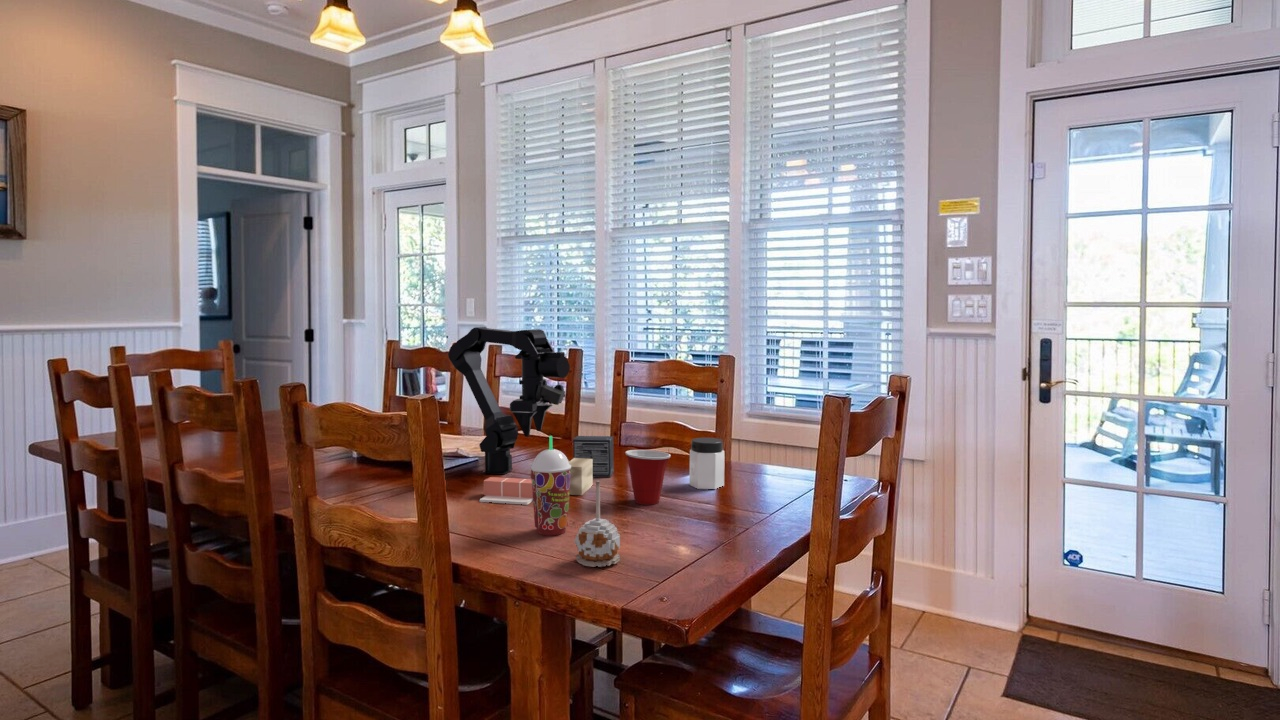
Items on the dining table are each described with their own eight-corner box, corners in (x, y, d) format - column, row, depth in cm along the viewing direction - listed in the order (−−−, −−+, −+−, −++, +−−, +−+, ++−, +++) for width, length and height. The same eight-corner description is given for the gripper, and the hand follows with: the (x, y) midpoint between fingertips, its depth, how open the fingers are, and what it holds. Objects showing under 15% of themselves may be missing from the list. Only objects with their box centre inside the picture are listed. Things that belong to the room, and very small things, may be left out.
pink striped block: (483, 495, 177) (483, 480, 176) (490, 490, 181) (490, 476, 180) (538, 498, 174) (538, 483, 174) (544, 493, 178) (544, 479, 178)
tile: (479, 501, 173) (479, 499, 173) (499, 489, 184) (499, 487, 184) (527, 504, 170) (527, 502, 170) (544, 492, 182) (544, 489, 182)
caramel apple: (569, 565, 131) (568, 483, 130) (589, 552, 138) (588, 474, 137) (607, 572, 128) (607, 488, 127) (626, 558, 135) (626, 478, 134)
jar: (684, 483, 191) (685, 438, 190) (712, 480, 194) (712, 436, 194) (700, 491, 183) (701, 444, 182) (728, 488, 186) (729, 442, 185)
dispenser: (539, 492, 181) (539, 465, 181) (552, 483, 191) (552, 456, 190) (581, 495, 179) (581, 467, 178) (592, 485, 189) (592, 458, 188)
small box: (614, 472, 204) (614, 435, 203) (611, 477, 197) (611, 439, 197) (577, 471, 205) (576, 434, 204) (572, 476, 198) (572, 438, 198)
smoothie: (554, 540, 145) (554, 441, 143) (522, 533, 149) (521, 437, 147) (579, 529, 152) (579, 434, 150) (548, 523, 156) (547, 431, 155)
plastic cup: (679, 503, 172) (679, 453, 171) (640, 510, 166) (640, 458, 165) (655, 493, 181) (655, 445, 180) (617, 499, 175) (617, 450, 175)
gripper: (550, 380, 184) (550, 441, 186) (571, 373, 203) (572, 429, 204) (508, 379, 187) (509, 439, 188) (533, 372, 205) (534, 427, 206)
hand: (533, 433), depth 196 cm, fingers open, 9 cm apart
